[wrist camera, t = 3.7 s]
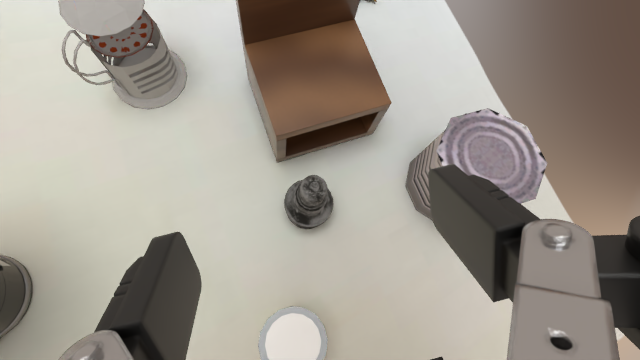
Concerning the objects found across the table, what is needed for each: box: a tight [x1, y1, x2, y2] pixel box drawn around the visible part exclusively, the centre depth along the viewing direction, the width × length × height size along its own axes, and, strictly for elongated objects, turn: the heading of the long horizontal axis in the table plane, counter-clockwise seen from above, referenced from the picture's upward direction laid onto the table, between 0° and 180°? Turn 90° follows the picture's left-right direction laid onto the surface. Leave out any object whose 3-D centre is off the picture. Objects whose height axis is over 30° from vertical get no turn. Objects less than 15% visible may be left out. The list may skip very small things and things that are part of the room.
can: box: [406, 108, 547, 220], centre depth 44 cm, size 11×11×12 cm
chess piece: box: [284, 175, 333, 229], centre depth 41 cm, size 6×6×12 cm
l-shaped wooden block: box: [236, 0, 391, 162], centre depth 42 cm, size 13×14×18 cm
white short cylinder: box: [258, 306, 328, 360], centre depth 39 cm, size 7×7×7 cm
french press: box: [58, 0, 187, 109], centre depth 37 cm, size 10×12×25 cm
